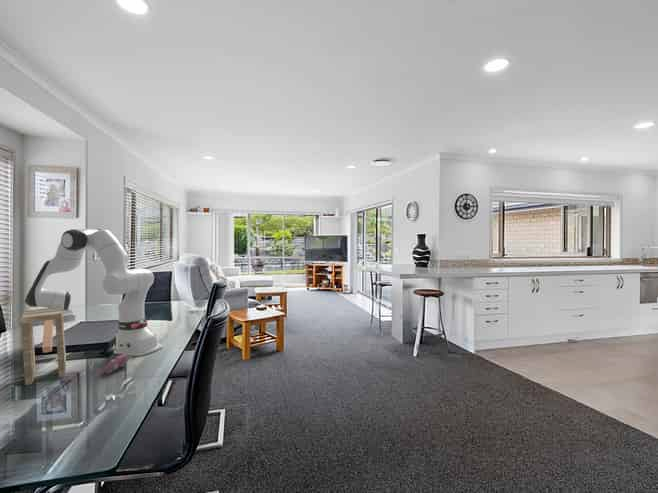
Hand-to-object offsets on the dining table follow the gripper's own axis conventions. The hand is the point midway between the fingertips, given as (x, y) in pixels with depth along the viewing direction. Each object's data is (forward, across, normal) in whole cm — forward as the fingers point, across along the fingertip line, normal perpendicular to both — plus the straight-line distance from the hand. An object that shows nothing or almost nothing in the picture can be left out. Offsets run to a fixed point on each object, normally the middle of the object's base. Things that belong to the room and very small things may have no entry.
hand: (48, 322), depth 158 cm
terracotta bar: (+5, 0, +5) cm, 7 cm away
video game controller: (+40, +24, +18) cm, 50 cm away
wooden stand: (+29, +1, +17) cm, 33 cm away
